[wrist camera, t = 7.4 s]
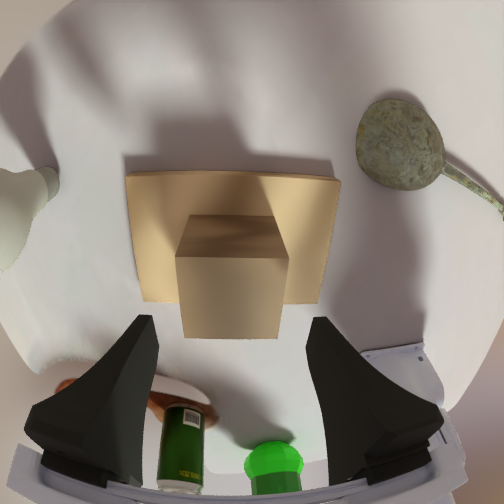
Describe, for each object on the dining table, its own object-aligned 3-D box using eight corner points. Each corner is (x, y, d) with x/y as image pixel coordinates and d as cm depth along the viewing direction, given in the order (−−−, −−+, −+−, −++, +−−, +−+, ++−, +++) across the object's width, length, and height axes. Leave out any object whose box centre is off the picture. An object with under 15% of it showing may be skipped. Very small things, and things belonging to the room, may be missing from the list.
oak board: (334, 177, 18) (341, 182, 17) (313, 294, 23) (317, 303, 22) (131, 172, 17) (125, 176, 16) (146, 292, 22) (143, 301, 21)
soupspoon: (363, 83, 16) (335, 162, 19) (383, 82, 13) (350, 174, 17) (514, 188, 20) (492, 238, 23) (533, 201, 17) (509, 253, 20)
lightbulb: (41, 224, 18) (-40, 304, 9) (18, 158, 15) (-80, 211, 6) (94, 203, 18) (5, 291, 9) (70, 127, 15) (-46, 167, 6)
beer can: (169, 397, 30) (160, 484, 20) (210, 407, 31) (209, 492, 21) (161, 413, 32) (152, 490, 22) (198, 422, 34) (195, 498, 23)
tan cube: (274, 216, 18) (289, 258, 14) (267, 285, 21) (277, 338, 16) (189, 214, 18) (174, 256, 13) (193, 284, 21) (184, 337, 16)
